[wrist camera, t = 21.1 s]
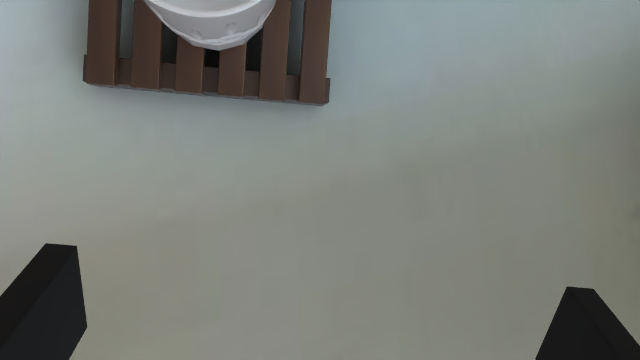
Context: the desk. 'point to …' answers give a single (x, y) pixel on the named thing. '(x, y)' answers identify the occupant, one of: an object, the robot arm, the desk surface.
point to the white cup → (213, 20)
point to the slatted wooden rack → (190, 60)
